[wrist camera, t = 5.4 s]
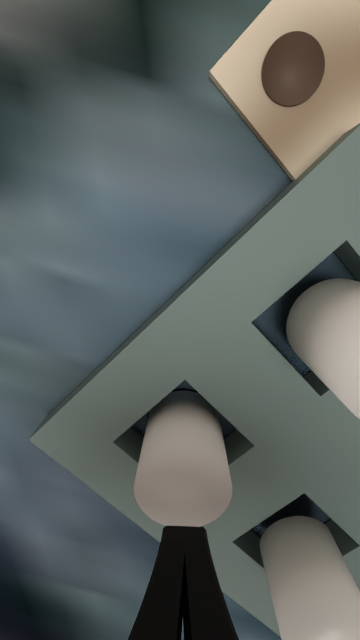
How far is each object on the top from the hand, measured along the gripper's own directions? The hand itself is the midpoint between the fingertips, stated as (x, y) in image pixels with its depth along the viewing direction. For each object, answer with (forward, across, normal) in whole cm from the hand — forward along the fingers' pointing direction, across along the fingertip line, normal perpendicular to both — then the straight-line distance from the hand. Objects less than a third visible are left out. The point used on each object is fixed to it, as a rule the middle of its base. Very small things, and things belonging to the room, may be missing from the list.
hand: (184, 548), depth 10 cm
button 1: (+5, -6, +6) cm, 10 cm away
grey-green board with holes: (+7, -6, 0) cm, 9 cm away
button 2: (+7, 0, 0) cm, 7 cm away
